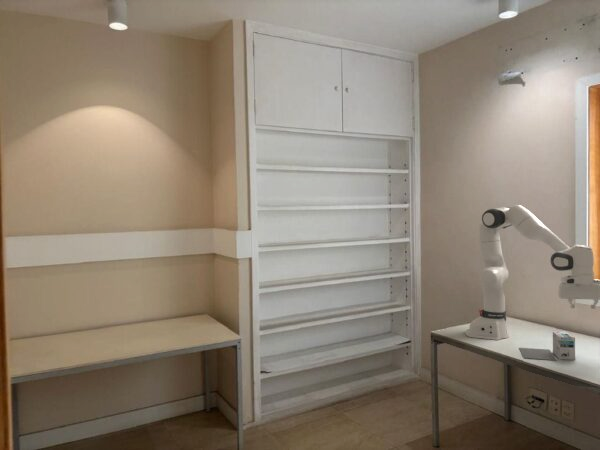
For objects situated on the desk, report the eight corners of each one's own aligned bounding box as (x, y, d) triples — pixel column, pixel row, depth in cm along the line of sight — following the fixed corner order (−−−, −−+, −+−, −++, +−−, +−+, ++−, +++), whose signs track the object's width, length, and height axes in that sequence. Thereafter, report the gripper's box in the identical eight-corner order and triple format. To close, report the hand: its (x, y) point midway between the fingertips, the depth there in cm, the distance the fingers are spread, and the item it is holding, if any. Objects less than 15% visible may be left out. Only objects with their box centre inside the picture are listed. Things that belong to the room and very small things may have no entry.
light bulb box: (575, 360, 220) (575, 337, 220) (560, 359, 221) (560, 337, 221) (566, 352, 231) (566, 331, 230) (552, 352, 232) (552, 330, 231)
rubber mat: (523, 358, 224) (523, 357, 224) (518, 348, 239) (518, 347, 239) (556, 360, 220) (556, 359, 220) (549, 350, 235) (549, 349, 235)
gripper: (605, 278, 222) (605, 307, 223) (557, 277, 228) (557, 306, 229) (610, 280, 216) (610, 310, 217) (560, 280, 222) (560, 309, 223)
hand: (582, 308), depth 223 cm, fingers open, 7 cm apart
